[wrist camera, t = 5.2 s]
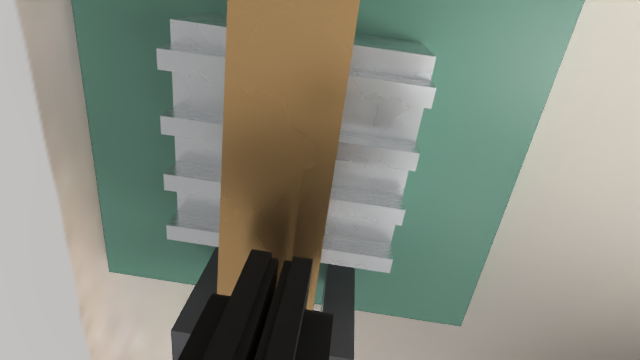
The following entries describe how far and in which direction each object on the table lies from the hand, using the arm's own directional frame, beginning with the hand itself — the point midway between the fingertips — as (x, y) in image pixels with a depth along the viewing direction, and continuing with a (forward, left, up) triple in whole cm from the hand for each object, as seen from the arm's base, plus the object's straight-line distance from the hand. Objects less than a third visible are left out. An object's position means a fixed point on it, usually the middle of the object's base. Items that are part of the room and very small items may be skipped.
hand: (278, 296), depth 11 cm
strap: (+1, -2, -2) cm, 3 cm away
